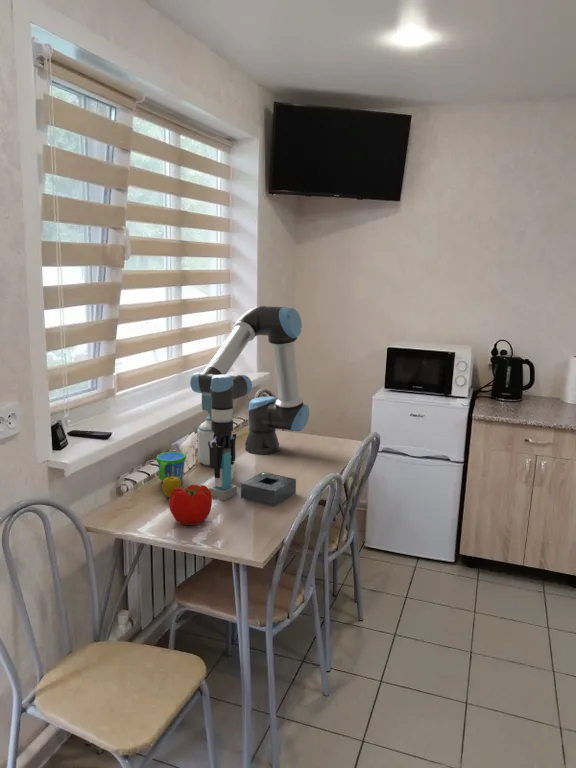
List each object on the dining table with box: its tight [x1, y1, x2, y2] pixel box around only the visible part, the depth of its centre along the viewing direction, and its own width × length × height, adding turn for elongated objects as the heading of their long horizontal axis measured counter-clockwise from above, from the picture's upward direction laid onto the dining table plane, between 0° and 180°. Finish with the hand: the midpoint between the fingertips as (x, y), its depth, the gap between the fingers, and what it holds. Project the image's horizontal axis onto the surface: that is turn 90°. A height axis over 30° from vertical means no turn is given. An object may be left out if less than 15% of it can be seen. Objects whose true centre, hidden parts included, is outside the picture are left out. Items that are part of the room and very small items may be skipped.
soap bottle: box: [196, 393, 214, 467], centre depth 246 cm, size 12×12×31 cm
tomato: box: [168, 484, 213, 526], centre depth 192 cm, size 13×14×12 cm
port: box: [240, 471, 297, 507], centre depth 214 cm, size 14×14×6 cm
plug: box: [215, 448, 232, 491], centre depth 213 cm, size 4×4×17 cm
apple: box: [162, 476, 182, 498], centre depth 212 cm, size 6×6×8 cm
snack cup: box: [156, 451, 187, 483], centre depth 226 cm, size 16×10×10 cm
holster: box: [208, 484, 238, 501], centre depth 214 cm, size 7×7×3 cm
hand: (223, 483), depth 214 cm, fingers closed on plug, 4 cm apart
